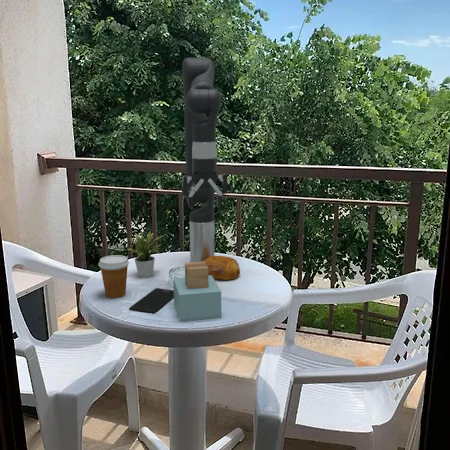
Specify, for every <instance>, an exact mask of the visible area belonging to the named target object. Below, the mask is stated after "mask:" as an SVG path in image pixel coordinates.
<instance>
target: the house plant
mask: <svg viewBox="0 0 450 450" xmlns="http://www.w3.org/2000/svg"><path fill="white" fill-rule="evenodd" d="M154 234H155V232H151V231H149V233H148V235H147V237H146V238H145V237H144V235H143V232H142V231H140V236H139V235H138V234H137V233H136V232H134V236H135V239H134V240H133V239H132V238H130V237H129V238H128V239H129V241H131V242H132V243H133V245H134V246H135V248H134V249H133V248H127V249H126V251H132V252H134V253H136V254H137V257H135V258H134V263H135V267H136V271H137V276H138V277H139V278H141V279H142V278H144V279H145V278H150V277H153V274H154V267H155V266H154V265H155V257H154V256H152V255H153V254H154V253H155V252H156V253H158V254H160V251H159V250H160V249H161V248H159V247H160V246H162V244H159V245H155V243H157V242H160V241H162V240H163V239H162V238H163V237H164V236H165V235H160V236H158V237H156V238H154V239H153V235H154ZM152 239H153V240H152Z"/></svg>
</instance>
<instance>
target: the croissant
mask: <svg viewBox="0 0 450 450" xmlns="http://www.w3.org/2000/svg"><path fill="white" fill-rule="evenodd" d="M202 262H205V263H206V265H207V267H208V275H212V277H213V278H214V280H219V281H221V280H224V281H229V280H236V279H237V278H238V277H239V276H240V274H241V270H240V266H239V263H238V261H237V260H236V259H235V258H234V257H230V256H227V255H226V256H224V255H214V256H210V257H209V258H207V259H206V260H204V261H202Z"/></svg>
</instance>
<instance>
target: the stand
mask: <svg viewBox="0 0 450 450" xmlns="http://www.w3.org/2000/svg"><path fill="white" fill-rule="evenodd" d="M172 279H173V280H172V282H173V285H172V286H173V290H174V298H173V303H174V307H175V311H176V313H177V316H178V318H179V321H180V322H187V321H188V320H189V321H197V320H208V319H216V318H219V319H220V318H222V290H221V288H220V287H219V286H218V283H217V282H216V279H214V278H213V277H212V275H208V285H209V287H207V288H195V289H188V287H187V285H186V283H185V276H184V277H183V276H182V277H174V278H172Z"/></svg>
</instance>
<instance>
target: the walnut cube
mask: <svg viewBox="0 0 450 450" xmlns="http://www.w3.org/2000/svg"><path fill="white" fill-rule="evenodd" d="M184 277H185V283H186V285H187V287H188V289H195V288H207V287H209V285H208V267H207V265H206V263H205V262H192V263H190V262H184Z"/></svg>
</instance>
